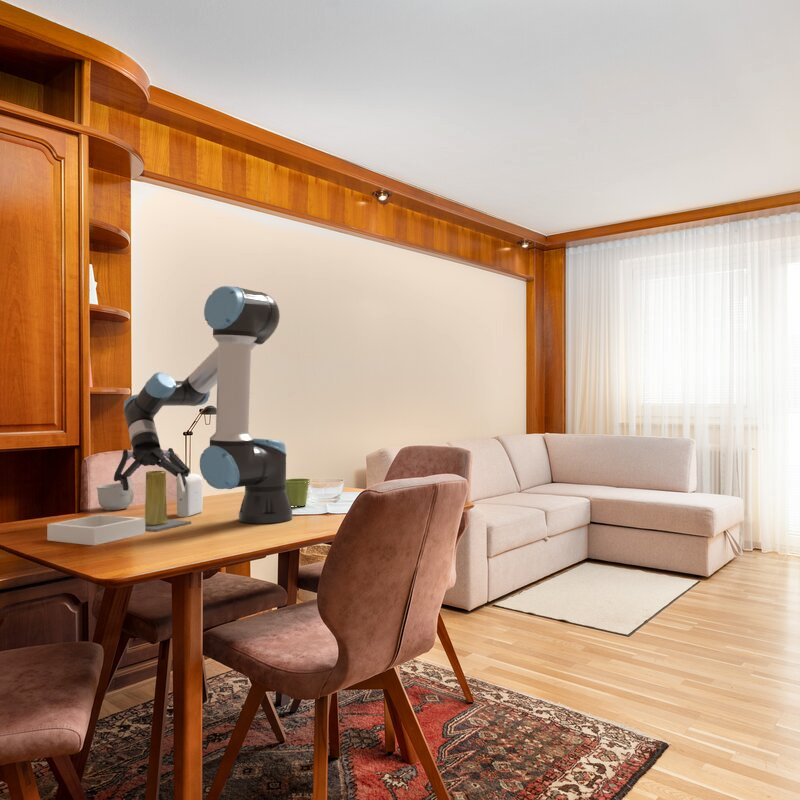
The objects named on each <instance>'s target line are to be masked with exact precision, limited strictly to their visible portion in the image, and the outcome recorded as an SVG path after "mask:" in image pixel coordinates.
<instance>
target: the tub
mask: <svg viewBox="0 0 800 800" xmlns="http://www.w3.org/2000/svg"><path fill="white" fill-rule="evenodd" d="M46 525H47V529H46V530H47V531H46V532H47V533H46V535H47V538H46V540H47V541H50V542H51V541H52V542H59V543H67V544H77V545H78V544H79V545H87V546H98V545H102V544H106V543H111V542H116V541H120V540H125V539H128V538H133V537H138V536H141V535H145V534H146V530H145V517H135V516H121V515H111V514H110V515H109V514H95V515H90V516H89V515H88V516H83V517H79V518H73V519H68V520H61V521H57V522H51V523H47V524H46Z"/></svg>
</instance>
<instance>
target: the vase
mask: <svg viewBox="0 0 800 800" xmlns="http://www.w3.org/2000/svg"><path fill="white" fill-rule="evenodd" d="M166 477H167V470H149V471H146V472H145V501H144V502H145V503H144V507H145V508H144V509H145V511H144V518H145V525H162V524H166V523H168V521H167V519H168V513H167V512H168V511H167V510H168V509H167V508H168V507H167V506H168V505H167V478H166Z"/></svg>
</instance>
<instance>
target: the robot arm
mask: <svg viewBox="0 0 800 800" xmlns="http://www.w3.org/2000/svg"><path fill="white" fill-rule="evenodd" d="M203 316H204V320H205V321H206V323H207V326H209V327H210V328H212V338H213V339H215V341H216V342H217V344H218V345H217V347H216V348H215V349H214V350H213V351H212V352H211V353H210V354H209V355H208V356H207V357H206V358H205V359H204V360H203V361H202V362H201V363H200V364H199V365H198V366H197V367H196V368H195V369H194V370H193V372H191V373H190V374H189V375H188V376H187V377H186V378H185V379H184V380H175V379H174V378H173V377H172V376H170V374H165V373H164V372H155V373H154V374H153V375H152V376H151V377H150V378H149V379H148V380H147V381H146V382H145V384H144V386H143V387H142V388H141V390H140V391H139V392H138V394H133V395H131V396H129V397H127V398H126V399H125V401H124V402H123V410H124V412H123V413H124V417H125V422H126V425H127V430H128V434H129V438H130V445H131V449H132V451H129V450H127V449H123V451H122V455H121V460H120V462H119V464H118V466H117V468H116V471H115V472H114V475H113V481H114V482H118V481H119V483H121V484H122V487H123V490H124V491H127V492H128V497H129V502H132V501H133V502H134V498H135V497H134V496H135V494H134V487H133V488H132V484H131V483H132V479H131V476H132V475H133V474H134V473H135V472H136V470H137V469H140V467H141V466H143V467H148V466H158V467H159V468H163V469H164V470H165V471H166V472H168V473H170V474H172V475H173V476H175V477H176V480H175V482H176V486H177V485H178V489H179V493H180V497H181V498H183V497H184V494H185V488H184V487H185V484H186V479H185V477H188V475H189V474H190V472H191V470H190V468H189V466H187V465H186V464H185V463H184V462H183V461H182V459H180V458H179V457H178V456H177V454H175V451H174V449H173V448H171V447H170V448H168V449H167V450H163V449H161V445H160V440H159V435H158V432H157V427H156V424H155V420H154V418H155V417H156V415H157V414H158V413H159V412H160V410H161V409H162V408H163V407H165V406H166V407H167V406H171V407H172V406H180V407H182V406H185V407H187V406H188V407H189V406H191V407H197V406H203V405H205V404H206V403H208V401H209V397H210V396H211V390H212V389H213V388H214V387H215V386H216V387H217V388H216V411H215V413H216V416H215V432H214V433H213V434H212V435H211V436H210V437H209V445H208V446H207V447H206V448H205V449H204V450H203V452H202V453H201V455H200V458H199V469H200V474H201V477H202V479H204V480H205V481H206V483H207V484H208V486H210V487H212V488H214V489H217V490H232V489H235V488H241V487H244V495H243V499H242V501H241V504H240V509H239V511H238V521H239V522H241V523H247V524H275V523H282V522H287V521H291V520H293V508H291V506H290V503H289V500H288V497H287V494H286V479H287V453H286V449H287V448H286V444H285V443H284V441H282V440H277V439H265V438H254V437H253V436H252V435H251V434H250V433H249V424H250V394H251V393H250V390H251V389H250V388H251V387H250V386H251V357H252V356H251V355H252V354H251V353H252V350H253V349H254V348H255V347H257V345H259V346H261V345H263V344H265V342H267V340H269V339H270V337H272V335H273V334H274V333H275V331H276V329H277V328H278V325H279V323H280V317H281V314H280V308H279V306H278V304H277V302H276V301H275V299H274V298H273V297H272V296H271V295H268V294H267V293H264V292H262V291H255V290H251V289H247V288H242V287H239V286H230V285H229V286H228V285H223V286H219V287H217V288H215V289H214V290H213V291H212V292H211V294H209V295H208V297H207V299H206V301H205V304H204V309H203ZM131 458H133V459H134V461H133V462H132V463H131V464H130V465H129V466H128V468H127V469H126V470H124V469H125V467H126V464H127V462H128V461H129V460H130V459H131ZM123 471H124V472H123ZM133 502H132V503H133Z"/></svg>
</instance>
